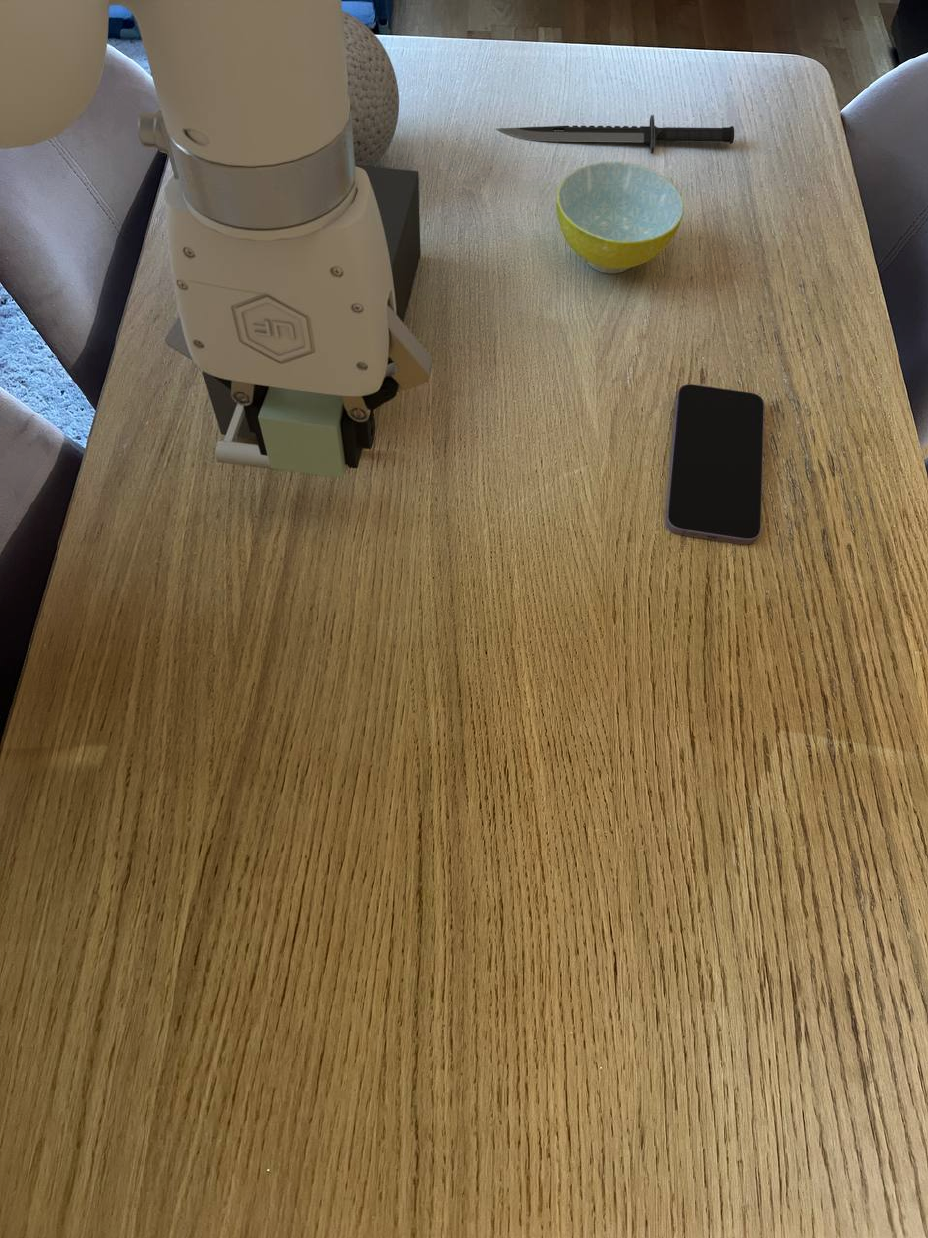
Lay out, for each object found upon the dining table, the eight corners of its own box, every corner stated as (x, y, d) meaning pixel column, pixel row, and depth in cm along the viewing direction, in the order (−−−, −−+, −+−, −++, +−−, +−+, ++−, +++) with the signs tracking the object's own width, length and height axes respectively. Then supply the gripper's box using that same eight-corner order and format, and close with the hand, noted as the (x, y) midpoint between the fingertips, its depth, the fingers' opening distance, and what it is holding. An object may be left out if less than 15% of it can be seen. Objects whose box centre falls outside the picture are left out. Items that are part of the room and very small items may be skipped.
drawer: (345, 511, 69) (336, 452, 64) (199, 492, 70) (177, 432, 64) (391, 334, 79) (387, 268, 73) (263, 319, 80) (249, 253, 74)
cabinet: (392, 365, 78) (387, 283, 71) (250, 348, 79) (230, 265, 72) (420, 255, 86) (418, 170, 78) (289, 240, 86) (275, 155, 79)
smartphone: (665, 527, 70) (678, 381, 77) (662, 535, 70) (675, 390, 78) (761, 542, 69) (765, 394, 76) (757, 550, 70) (761, 403, 77)
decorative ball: (222, 189, 90) (185, 28, 77) (307, 114, 97) (287, -46, 84) (350, 240, 87) (334, 80, 74) (429, 158, 93) (427, -2, 80)
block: (270, 468, 53) (257, 416, 50) (289, 413, 56) (278, 359, 52) (343, 479, 53) (336, 427, 49) (359, 423, 55) (354, 370, 52)
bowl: (672, 227, 89) (687, 168, 83) (665, 307, 83) (680, 249, 78) (557, 212, 89) (565, 152, 84) (542, 290, 84) (549, 231, 78)
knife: (494, 140, 94) (496, 108, 96) (494, 156, 96) (496, 124, 98) (736, 143, 93) (733, 110, 95) (732, 159, 94) (729, 126, 96)
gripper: (39, 184, 37) (158, 472, 53) (446, 236, 36) (443, 513, 52) (105, 83, 41) (197, 379, 57) (475, 127, 40) (464, 416, 56)
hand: (315, 441), depth 54 cm, fingers closed on block, 4 cm apart
